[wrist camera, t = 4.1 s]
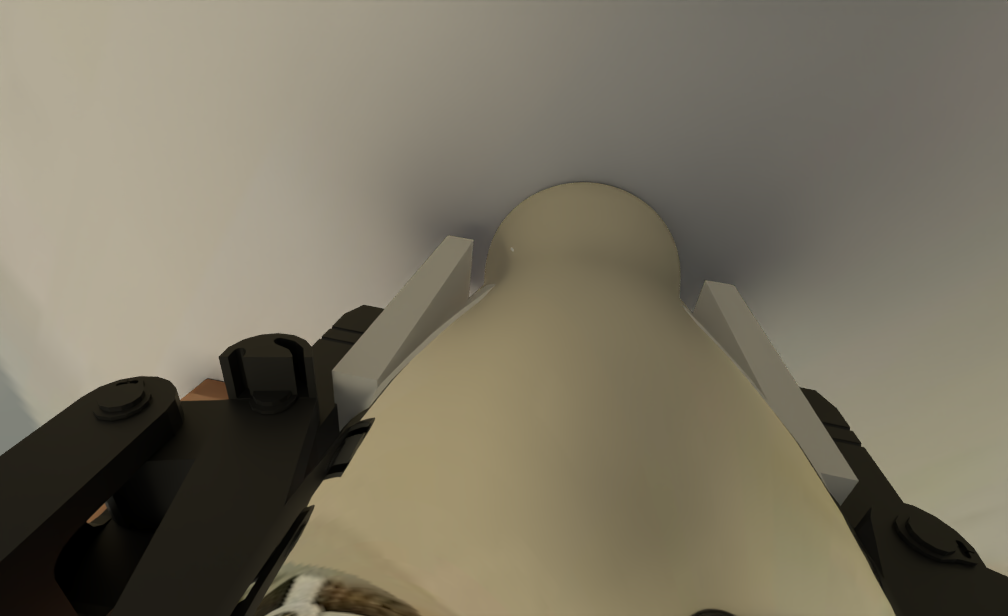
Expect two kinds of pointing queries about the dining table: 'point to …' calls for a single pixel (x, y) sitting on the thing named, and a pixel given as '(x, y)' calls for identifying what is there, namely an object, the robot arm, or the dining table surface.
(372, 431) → the beer glass
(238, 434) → the robot arm
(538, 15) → the dining table surface
